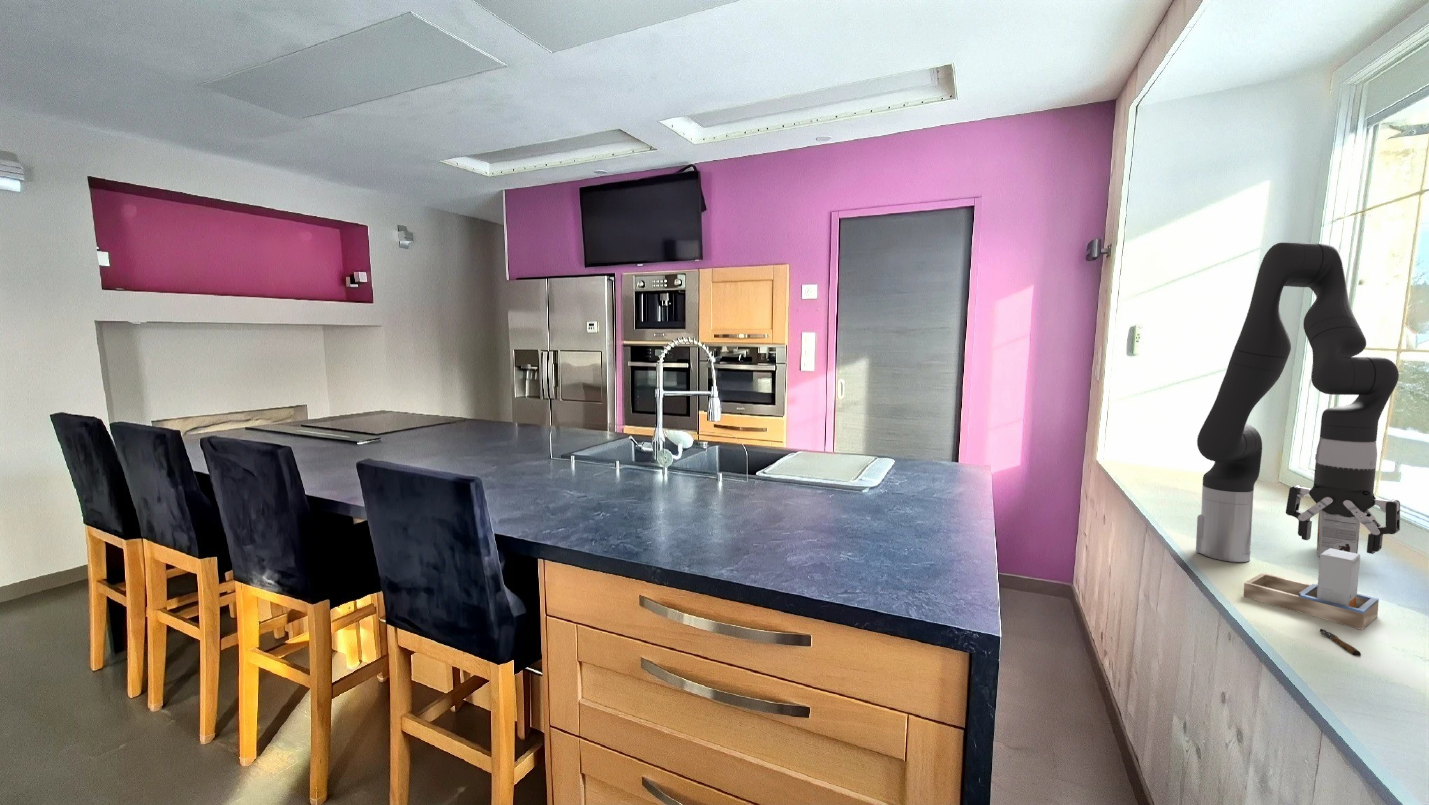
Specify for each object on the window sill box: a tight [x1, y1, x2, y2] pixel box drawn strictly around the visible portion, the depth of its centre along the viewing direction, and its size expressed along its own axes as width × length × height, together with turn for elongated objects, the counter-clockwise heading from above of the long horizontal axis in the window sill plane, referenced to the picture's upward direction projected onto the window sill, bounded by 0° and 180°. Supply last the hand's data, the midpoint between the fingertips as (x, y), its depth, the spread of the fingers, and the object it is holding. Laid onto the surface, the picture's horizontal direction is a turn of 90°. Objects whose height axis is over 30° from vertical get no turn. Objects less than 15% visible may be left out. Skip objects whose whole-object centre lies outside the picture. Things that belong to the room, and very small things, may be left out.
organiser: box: [1243, 572, 1380, 631], centre depth 110 cm, size 16×10×4 cm, turn 29°
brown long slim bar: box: [1319, 628, 1362, 657], centre depth 97 cm, size 9×2×1 cm, turn 155°
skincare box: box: [1317, 548, 1361, 608], centre depth 106 cm, size 6×4×12 cm
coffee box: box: [1316, 511, 1361, 557], centre depth 134 cm, size 9×6×16 cm
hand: (1337, 545), depth 106 cm, fingers open, 8 cm apart
